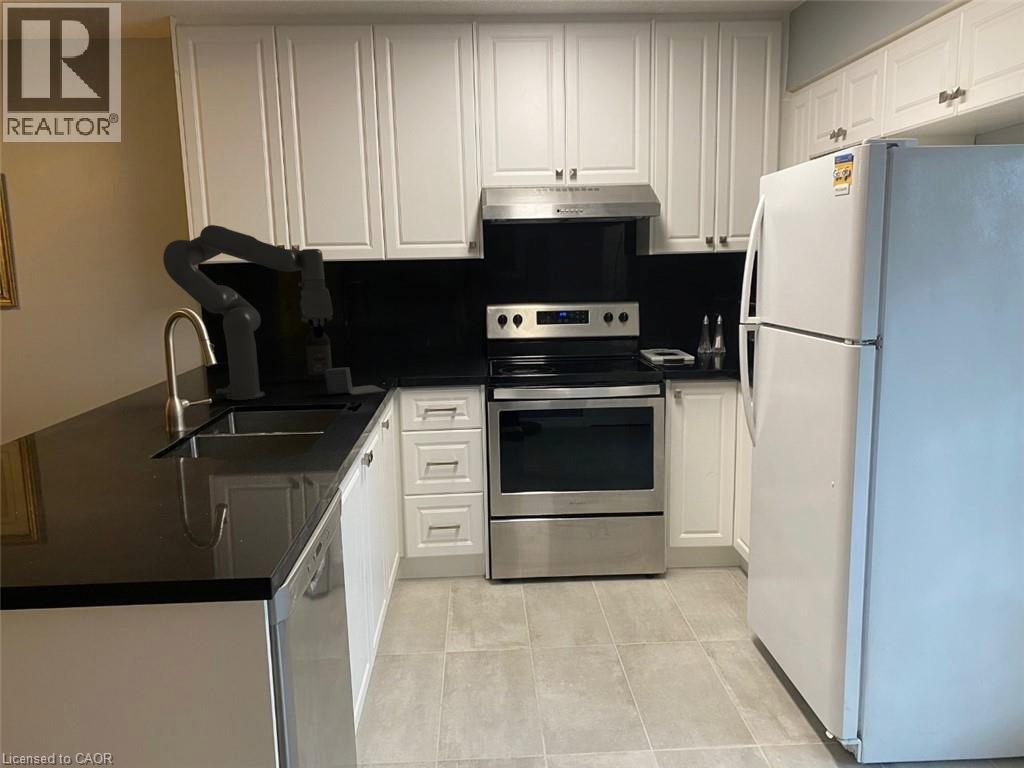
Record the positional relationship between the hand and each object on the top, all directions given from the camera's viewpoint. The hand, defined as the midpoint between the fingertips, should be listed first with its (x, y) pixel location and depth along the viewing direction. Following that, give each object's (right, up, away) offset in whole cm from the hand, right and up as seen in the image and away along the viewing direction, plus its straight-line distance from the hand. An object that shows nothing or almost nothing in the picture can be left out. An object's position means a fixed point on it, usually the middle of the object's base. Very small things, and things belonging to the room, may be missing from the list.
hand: (318, 337), depth 243 cm
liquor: (-10, -15, +38) cm, 42 cm away
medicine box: (+6, -20, +6) cm, 21 cm away
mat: (+13, -19, +10) cm, 25 cm away
